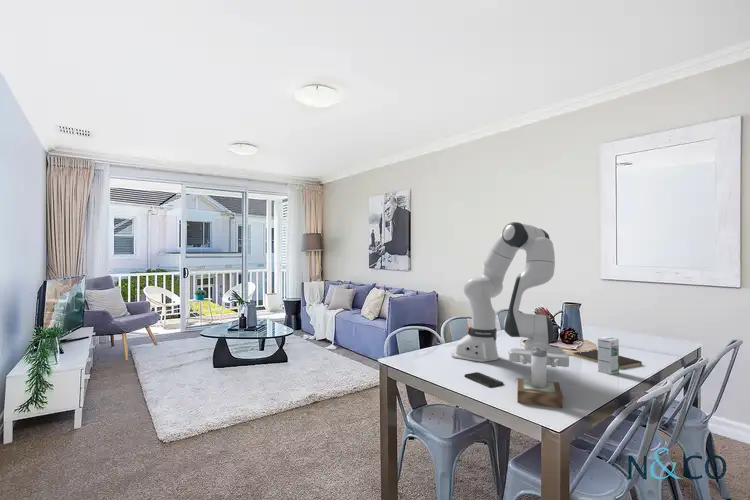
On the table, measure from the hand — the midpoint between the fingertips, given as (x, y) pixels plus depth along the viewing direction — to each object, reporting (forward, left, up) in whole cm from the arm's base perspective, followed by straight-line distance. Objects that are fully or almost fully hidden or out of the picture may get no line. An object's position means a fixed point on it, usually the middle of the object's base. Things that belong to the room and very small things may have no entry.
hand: (539, 363), depth 138 cm
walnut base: (0, +1, -12) cm, 13 cm away
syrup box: (+29, +43, -13) cm, 53 cm away
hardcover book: (+32, +63, -13) cm, 71 cm away
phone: (-20, +13, -13) cm, 27 cm away
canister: (0, +1, -8) cm, 8 cm away
